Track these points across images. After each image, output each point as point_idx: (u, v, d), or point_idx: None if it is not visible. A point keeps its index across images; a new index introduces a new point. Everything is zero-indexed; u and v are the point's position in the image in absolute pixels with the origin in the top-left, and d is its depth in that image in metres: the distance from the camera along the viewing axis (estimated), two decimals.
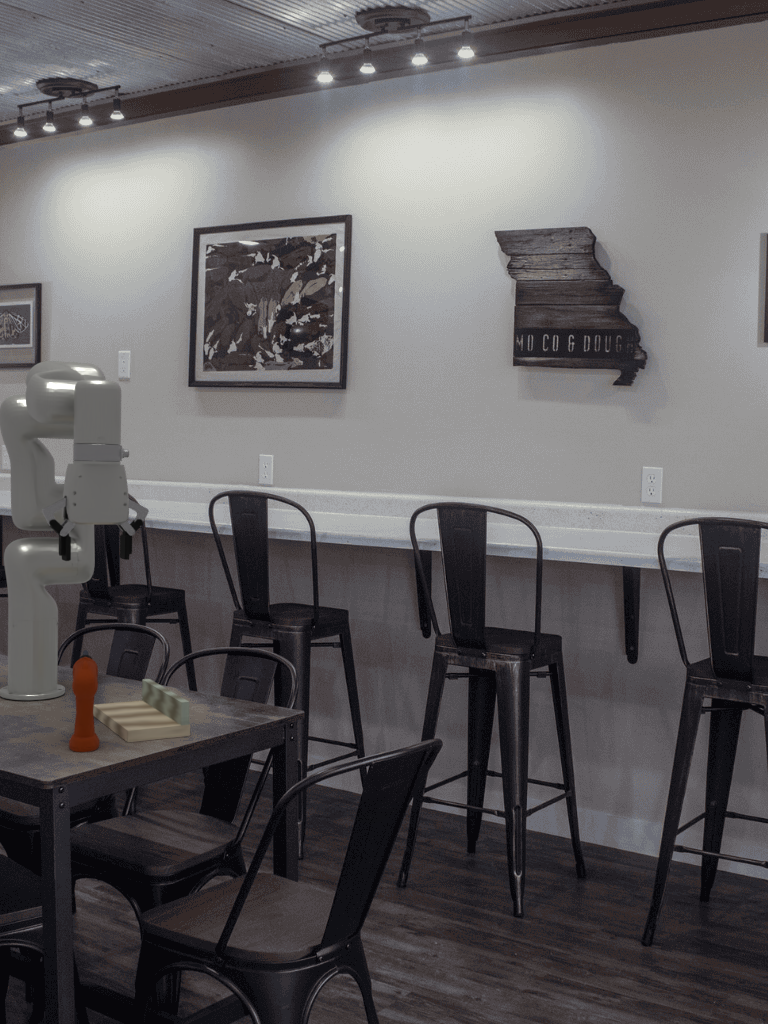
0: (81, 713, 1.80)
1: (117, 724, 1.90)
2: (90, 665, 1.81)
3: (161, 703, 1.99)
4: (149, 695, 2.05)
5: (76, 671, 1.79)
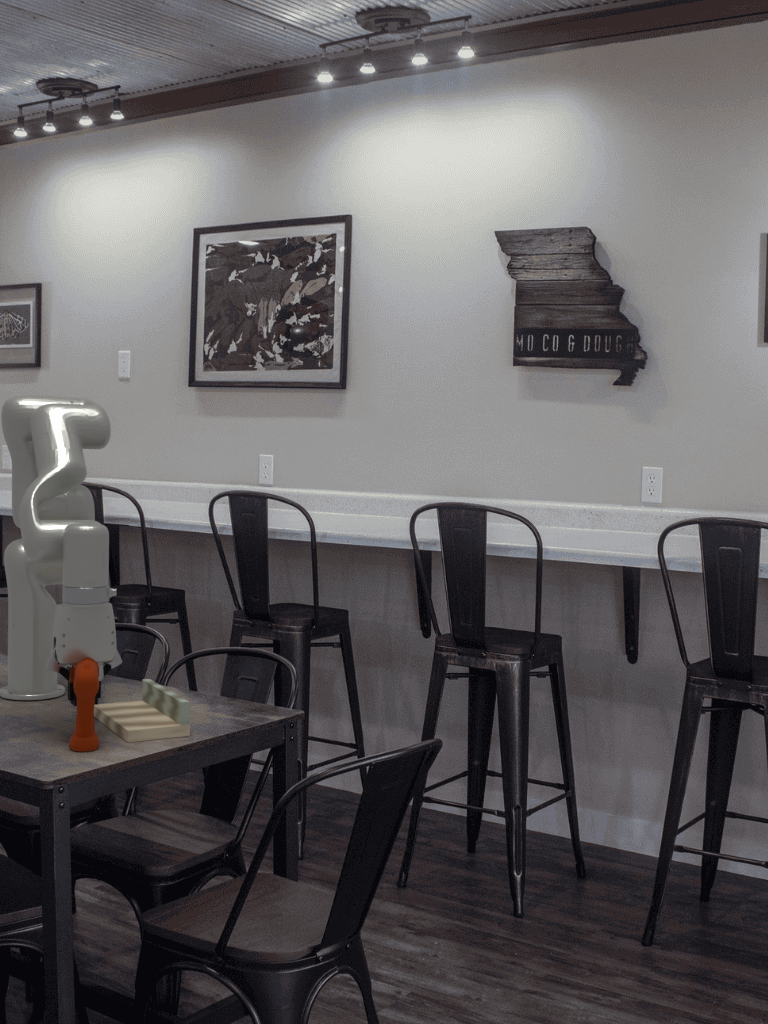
0: (82, 713, 1.80)
1: (117, 724, 1.90)
2: (92, 665, 1.81)
3: (161, 703, 1.99)
4: (149, 695, 2.05)
5: (78, 670, 1.79)
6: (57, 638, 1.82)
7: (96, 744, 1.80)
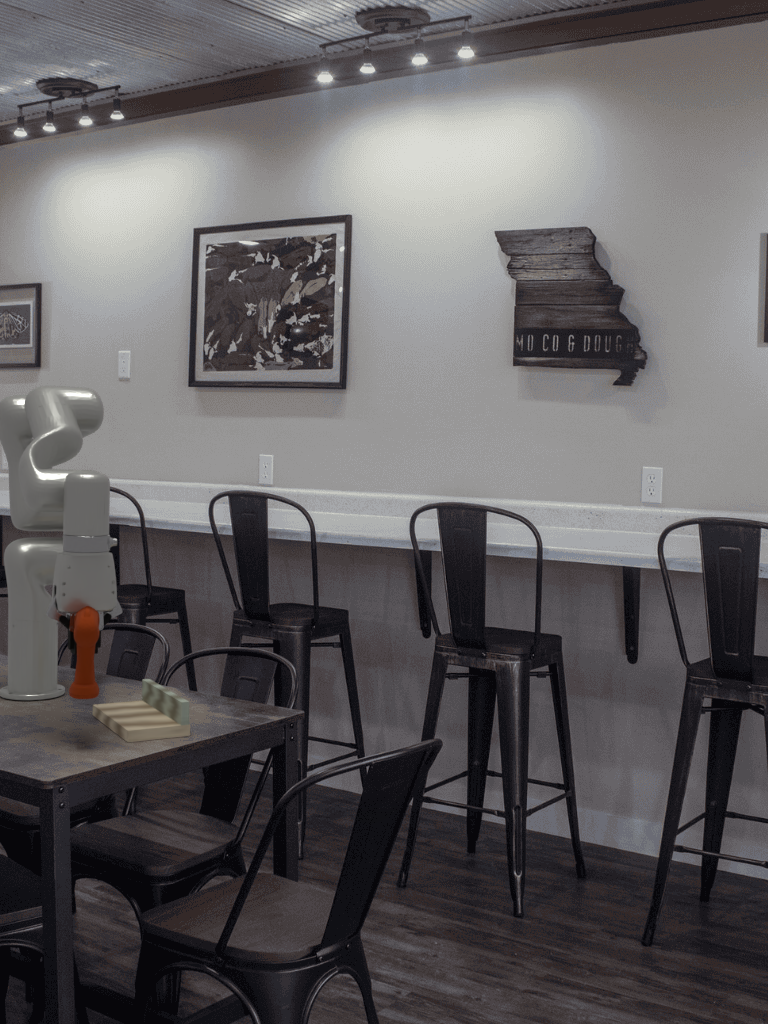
0: (82, 661, 1.80)
1: (117, 724, 1.90)
2: (92, 613, 1.80)
3: (161, 703, 1.99)
4: (149, 695, 2.05)
5: (78, 618, 1.79)
6: (57, 586, 1.82)
7: (96, 692, 1.80)
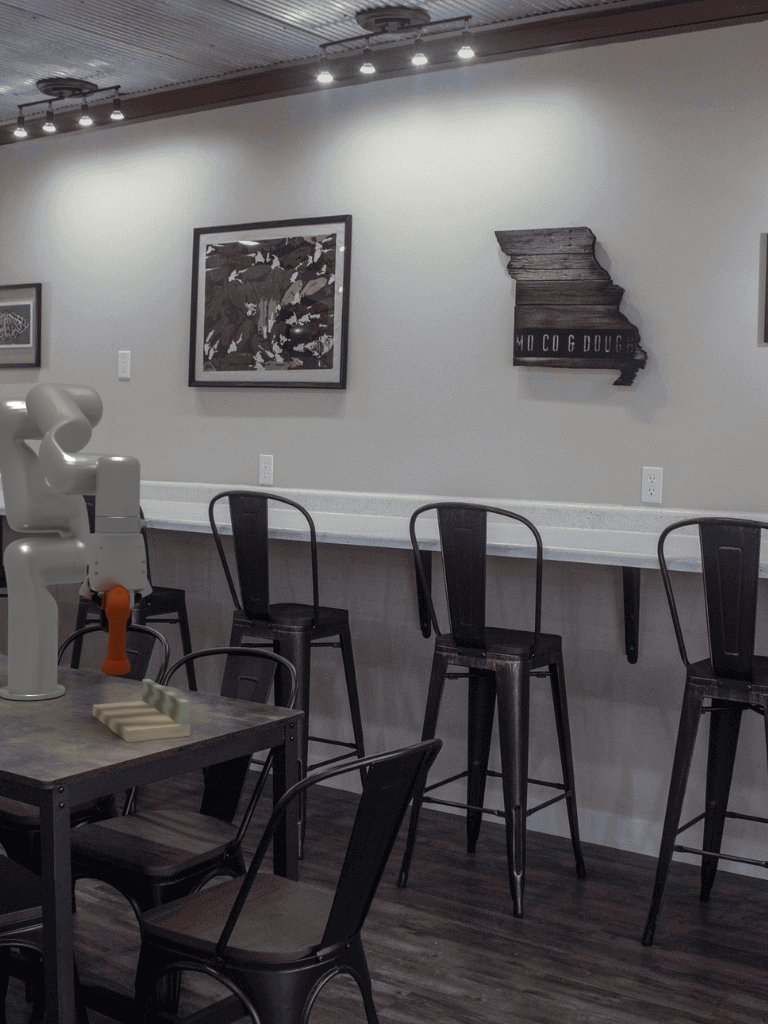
0: (114, 637, 1.85)
1: (117, 724, 1.90)
2: (123, 591, 1.86)
3: (161, 703, 1.99)
4: (149, 695, 2.05)
5: (110, 596, 1.84)
6: (90, 565, 1.88)
7: (127, 668, 1.85)
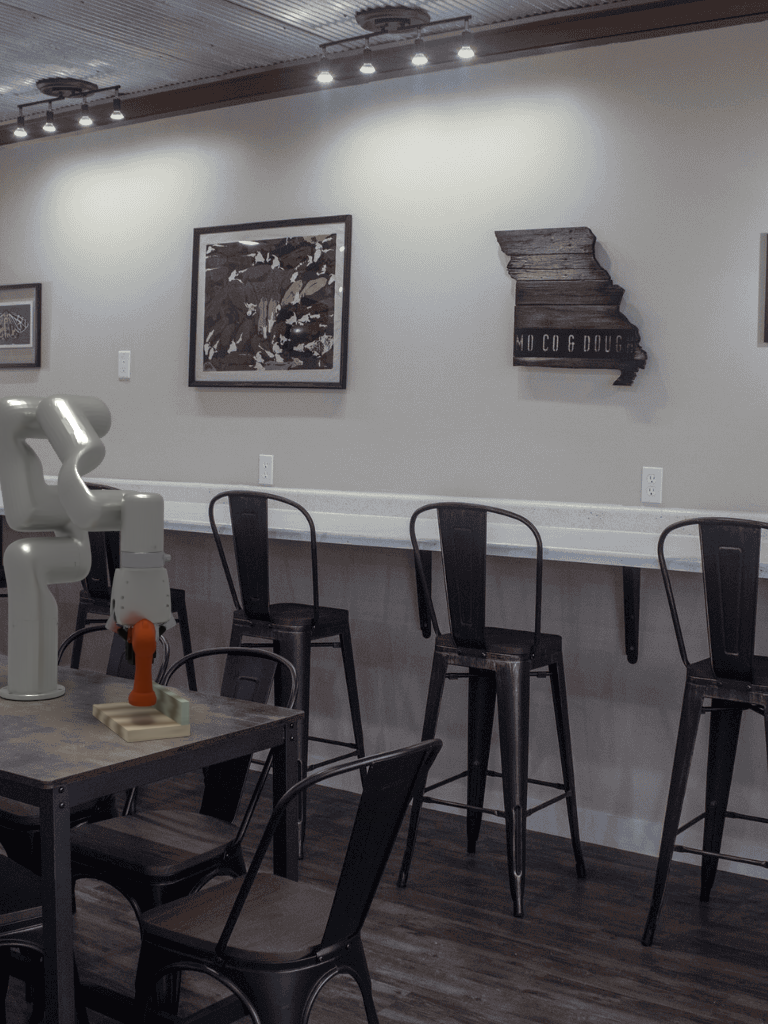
0: (141, 670, 1.90)
1: (117, 724, 1.90)
2: (149, 625, 1.91)
3: (161, 703, 1.99)
4: None
5: (137, 630, 1.89)
6: (116, 600, 1.93)
7: (154, 700, 1.90)
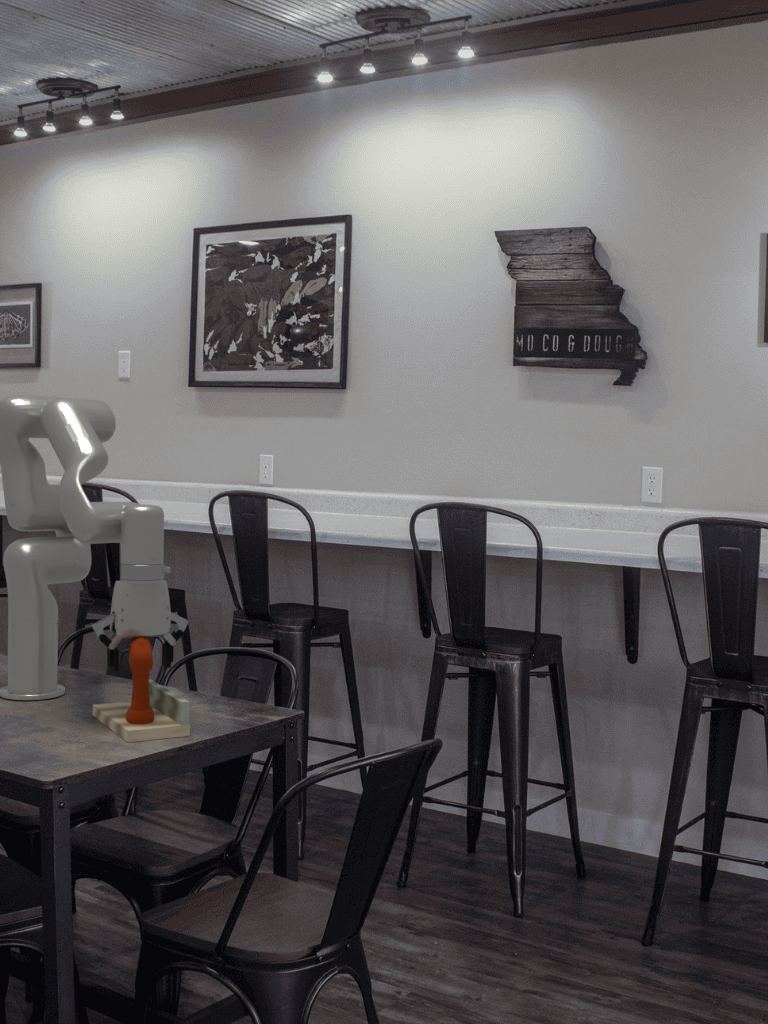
0: (138, 688, 1.91)
1: (117, 724, 1.90)
2: (146, 643, 1.92)
3: (161, 703, 1.99)
4: (149, 695, 2.05)
5: (133, 648, 1.90)
6: (116, 613, 1.93)
7: (152, 717, 1.91)
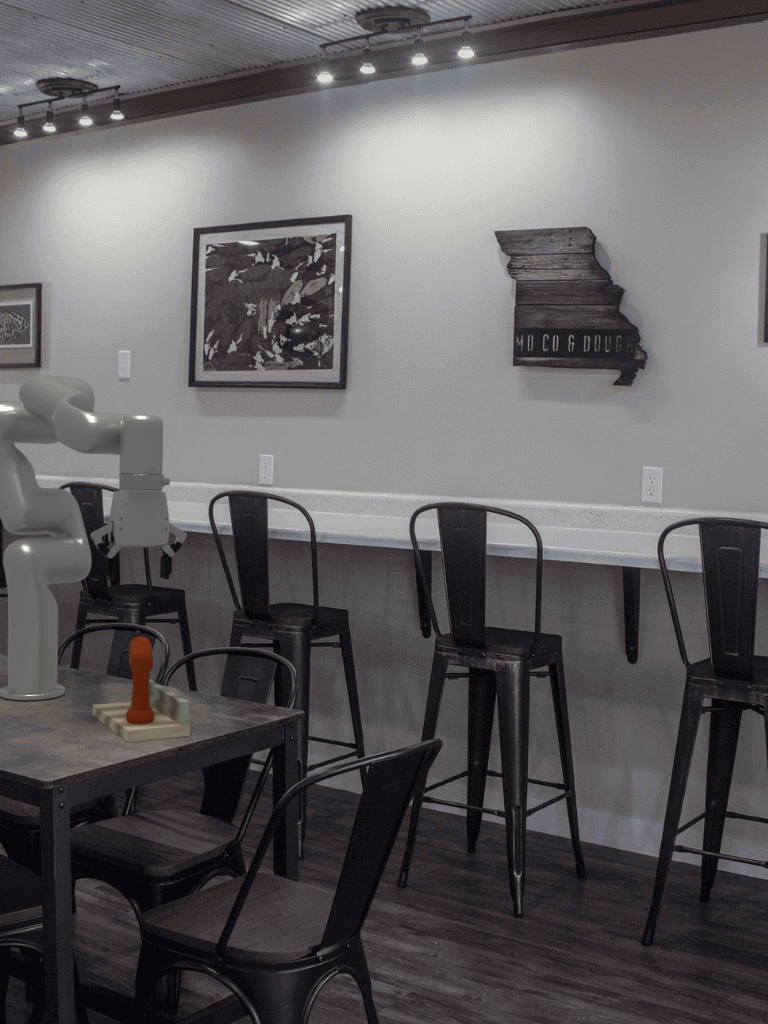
0: (138, 688, 1.91)
1: (117, 724, 1.90)
2: (146, 643, 1.92)
3: (161, 703, 1.99)
4: (149, 695, 2.05)
5: (133, 648, 1.90)
6: (115, 521, 1.92)
7: (152, 717, 1.91)
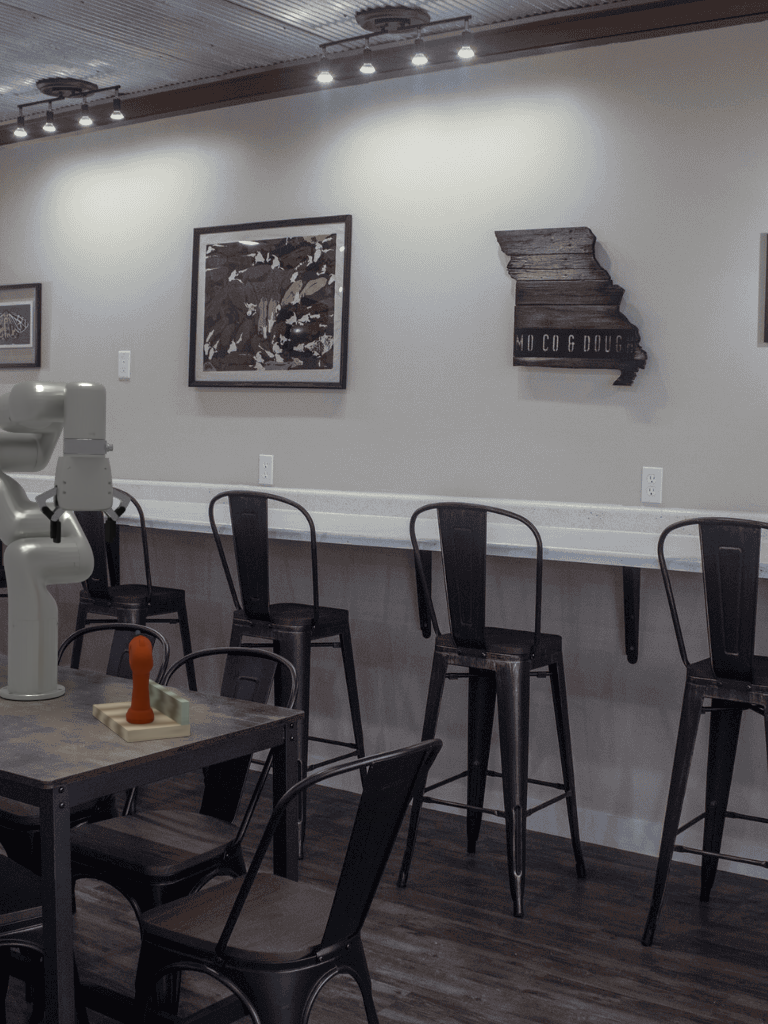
0: (138, 688, 1.91)
1: (117, 724, 1.90)
2: (146, 643, 1.92)
3: (161, 703, 1.99)
4: (149, 695, 2.05)
5: (133, 648, 1.90)
6: (58, 485, 1.98)
7: (152, 717, 1.91)
